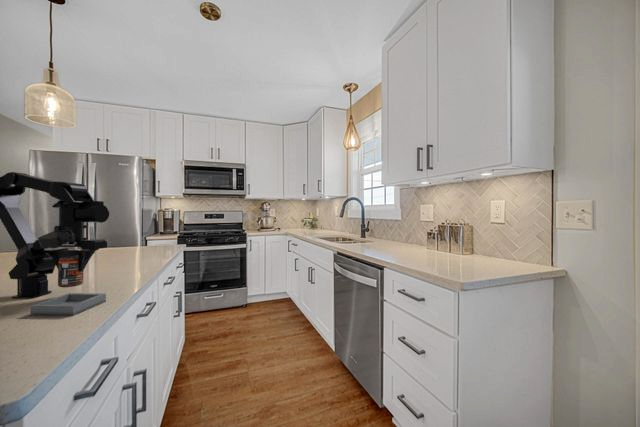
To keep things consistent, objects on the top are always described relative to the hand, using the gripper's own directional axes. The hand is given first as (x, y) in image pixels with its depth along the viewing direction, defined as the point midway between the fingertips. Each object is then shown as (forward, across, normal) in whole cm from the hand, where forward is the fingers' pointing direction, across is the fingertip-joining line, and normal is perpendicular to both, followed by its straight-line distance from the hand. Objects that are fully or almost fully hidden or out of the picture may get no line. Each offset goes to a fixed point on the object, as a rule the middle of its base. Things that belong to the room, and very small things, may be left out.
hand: (71, 271), depth 86 cm
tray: (+8, +9, -10) cm, 16 cm away
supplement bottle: (+5, 0, 0) cm, 5 cm away
